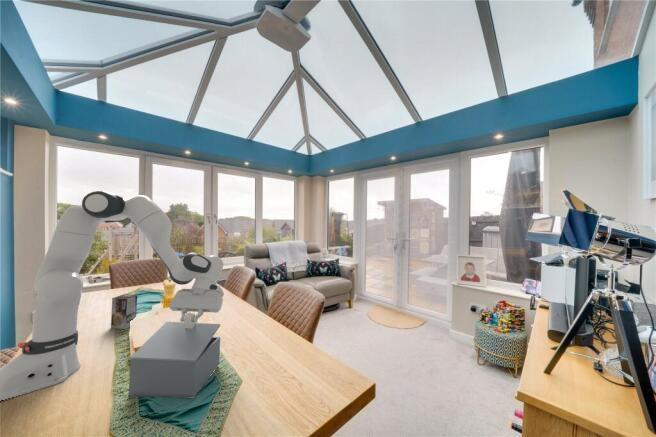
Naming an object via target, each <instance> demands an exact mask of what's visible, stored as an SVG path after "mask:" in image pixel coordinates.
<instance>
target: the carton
mask: <svg viewBox="0 0 656 437" xmlns="http://www.w3.org/2000/svg"><path fill="white" fill-rule="evenodd" d="M220 350H221V336H213V337H212V339H211V340H210V342H209V343H208V345H207V346H206V348H205V349H204V350H203V352H202V353H201V355H200V356H199V358H198V359H197V361H196V362H182V361H160V360H139V359H131V358H130V366H129V378H128V380H129V381H128V396H131V397H132V396H133V397H137V396H138V397H149V398H150V397H151V398H152V397H153V398H154V397H155V398H171V397H183V398H182V399H187V398H186V397H194V396H195V395H196V394H197V392H198V391H199V390H200V388H201V387H202V386H203V385H204V383H205V382H206V381H207V380H208V378H209V377H210V375H211V374H212V373H213V371H214V370H215V369H216V368H217V366H218V365H219V366H220ZM217 369H218V368H217ZM213 374H214V373H213ZM210 378H211V377H210ZM210 378H209V379H210ZM208 381H209V380H208ZM208 381H207V382H208ZM207 382H206V383H207ZM204 386H205V385H204ZM204 386H203V387H204ZM203 387H202V388H203ZM200 391H201V390H200ZM200 391H199V392H200ZM199 392H198V393H199ZM197 395H198V394H197ZM197 395H196V396H197ZM196 396H195V397H196ZM184 397H185V398H184Z"/></svg>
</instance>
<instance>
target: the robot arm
mask: <svg viewBox="0 0 656 437" xmlns="http://www.w3.org/2000/svg"><path fill="white" fill-rule="evenodd" d="M127 220H130V221H132V222H133V223H134V225H135V226H136V227H137V228H138V229H139V230H140V231H141V233H142V234H143V235H144V237H145V238H146V240H147V241H148V242H149V245H150V246H151V248H152V249H153V251H154V252H155V254H156V255H157V257H159V259H160V260H161V263H163V264H164V266H165V267H166V269H167V272H168V275H169V278H170V280H171V281H172V282H173V283H175V284H177V285H180V286H181V285H187V284H190V283H191V282H192V281H193V280H194V279H195V281H194V282H193V285H192V286H191V288H181V289H180V290H177V292H176V293H175V295H174V296H173V297H172V299H171V300H170V302H169V304H168V308H169V309H170V310H171V311H173V312H180V314H181V317H180V320H179V322H184V316H185V315H186V314H187V313H189V312H193V313H195V312H197V313H196V315H195V316H193V318H192V320H191V321H192V322H196V323H198V320H199V318H201V317H202V316H203V315H204V313H219V312H220V310H221V309H222V306H223V303H224V300H223V299H224V295H225V293H224V291H223V288H222V287H221V286H220V285H217V282H218V280H219V279H220V277H221V274H222V272H223V268H224V261H223V260H222V258H221V257H219V256H217V255H212V254H211V255H205V254H200V253H198V252H189V253H187V254H185V255H184V256H183V257H182V258H180V257H179V255H178V253H177V252H176V250H174V248H173V247H172V245H171V234H172V230H173V224H172V223H173V222H172V221H171V218H170V217H169V216H168V215H167V214H166V213H165V211H164V210H163V209H162V208H161V207H160V206H159V205H158V204H157V203H155V202H154V201H153V200H152V199H151V198H149V197H148V196H147V195H136V196H132V197H131V198H128V199H127V198H124V197H122V196H121V195H119V194H115V193H112V192H110V191H106V190H105V191H104V190H98V191H97V190H96V191H91V192H89V193H88V194H86V195H85V196H84V197H83V198H82V200H81V204H80V205H79V204H78V205H76V204H75V205H72V206H69V207H67V208H66V209H65V211H64V212H63V213H62V215H61V217H60V218H59V220H58V222H57V224H56V226H55V230H54V232H53V235H52V238H51V241H50V243H49V246H48V248H47V252H46V253H45V256H44V258H43V260H42V262H41V264H40V267H39V269H38V272H37V273H36V276H35V278H34V281H33V288H34V289H35V290H36V301H35V307H34V308H35V311H34V313H33V314H34V315H33V319H32V332H31V333H32V334H31V339H30V340H28V341H25V340H21V341H20V342H19V343H17V347H18V348H19V349H21V353H20V354H19V355H17V356H15V357H14V358H12V359H11V360H10V361H9V362H7V363H6V364H4V365H3V366H1V367H0V401H1V400H4V399H7V400H9V399H8V398H10V399H13V398H12V397H14V398H16V396H17V397H19V396H18V395H20V396H23V395H25V393H26V394H29V393H31V392H32V393H33V392H34V391H37V390H41V389H44V388H47V387H50V386H53V385H56V384H60V383H63V382H65V381H66V379H67V378H68V377H69V376H70V375H72V374H74V373H76V371H77V370H79V368H80V367H81V364H80V361H79V358H78V357H79V356H78V352H77V345H78V342H79V330H77V329H78V328H77V327H78V326H77V325H78V312H79V306H80V303H81V299H82V294H83V293H82V292H83V288H84V281H83V278H82V277H81V275H80V272H81V270H82V267H83V266H84V263H85V262H86V259H87V258H88V257H89V255H90V252H91V248H92V245H93V243H94V240H95V236H96V232H97V230H98V227H99V226H100V225H101V223H119V222H123V221H127ZM22 394H23V395H22ZM4 401H5V400H4ZM1 402H2V401H1Z"/></svg>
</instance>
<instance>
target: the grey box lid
mask: <svg viewBox="0 0 656 437" xmlns="http://www.w3.org/2000/svg"><path fill="white" fill-rule="evenodd" d="M193 316H196V315H195V313H194V312H193V313H190V312H187V314H185V316H184V322H181V321H166V322H164V323H163V325H162V326H160V327H159V329H157V331H155V332H154V333H153V335H151V336H150V337H149V338H148V339H147V340H146V341H145V342H144V343H143V344H142V345H140V347H139V348H138V349H137V350H136V351H135V352H134V353H132V355H131V356H129V358H130V360H131V359H139V360H160V361H182V362H196V361H197V359H198V358H199V356H200V355H201V353H202V352H203V350H204V349H205V348H206V346H207V345H208V343H209V342H210V340H211V339H212V337H215V334H216V333H217V331H218V330H219V328H220V327H221V324H220V323H208V322H207V323H205V322H204V323H202V322H201V323H200V322H192V321H191V320H192V318H193Z"/></svg>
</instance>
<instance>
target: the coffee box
mask: <svg viewBox="0 0 656 437" xmlns="http://www.w3.org/2000/svg"><path fill="white" fill-rule="evenodd" d="M137 305H138V295H135V294H134V295H133V294H120V295H118V296H116V297H115V296H114V297H112V298H111V320H110V328H111V329H119V330H120V329H121V330H122V329H123V330H127V329H129V328H131V327H130V321H131V320H133V319H134V318H135V317H136V318H137V307H138V306H137Z"/></svg>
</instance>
